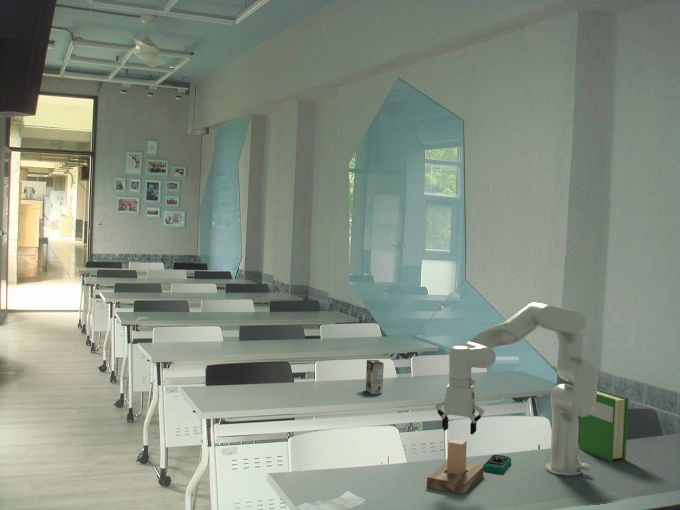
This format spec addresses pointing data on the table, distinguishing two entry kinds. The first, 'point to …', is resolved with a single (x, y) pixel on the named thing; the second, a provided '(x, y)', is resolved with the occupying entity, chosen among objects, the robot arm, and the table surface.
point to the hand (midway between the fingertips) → (459, 431)
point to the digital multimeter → (497, 463)
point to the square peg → (456, 457)
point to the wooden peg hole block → (455, 479)
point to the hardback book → (606, 427)
